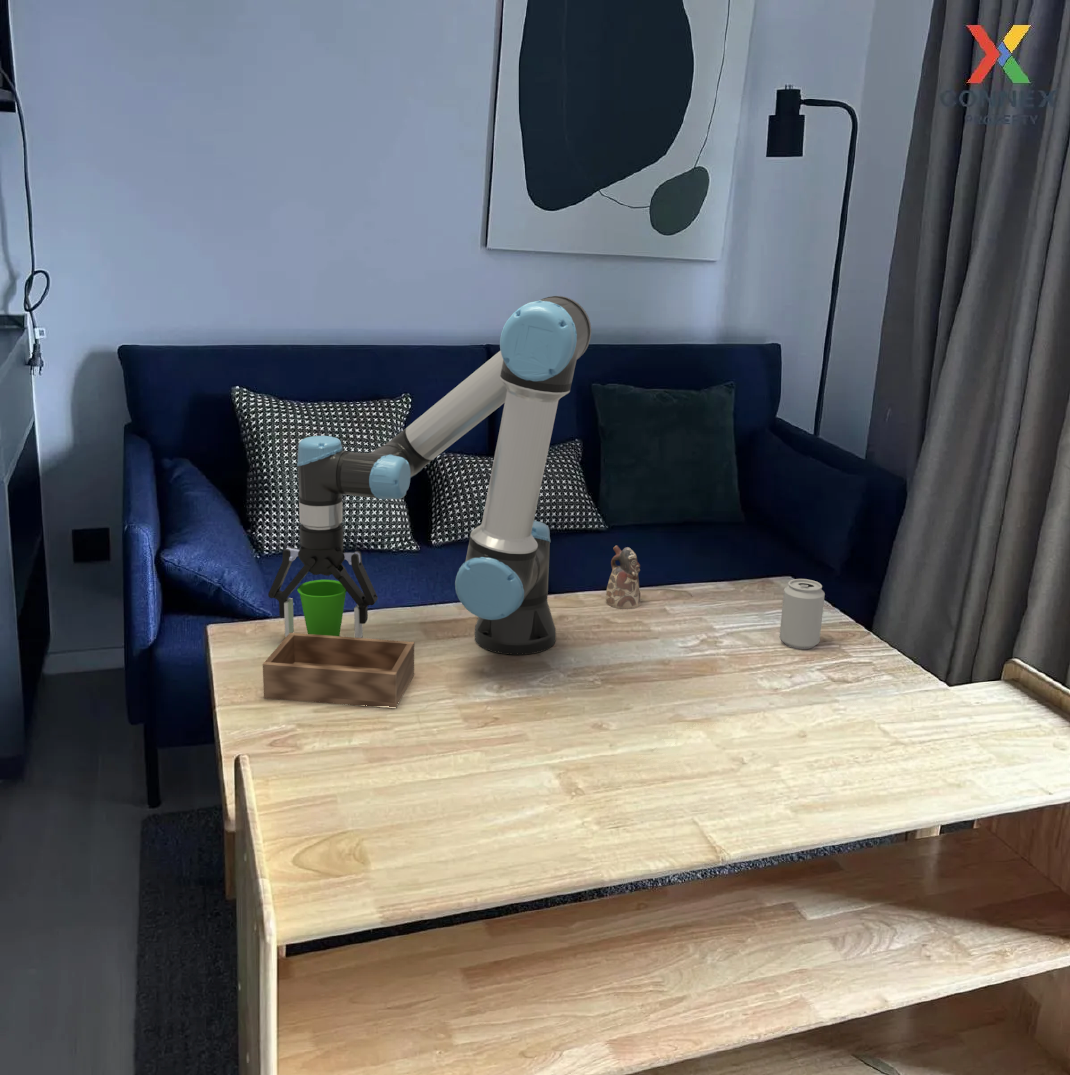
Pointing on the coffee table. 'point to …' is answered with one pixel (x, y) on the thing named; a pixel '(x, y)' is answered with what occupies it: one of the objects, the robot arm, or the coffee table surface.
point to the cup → (322, 606)
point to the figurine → (624, 580)
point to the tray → (339, 670)
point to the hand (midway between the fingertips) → (324, 636)
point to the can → (802, 613)
